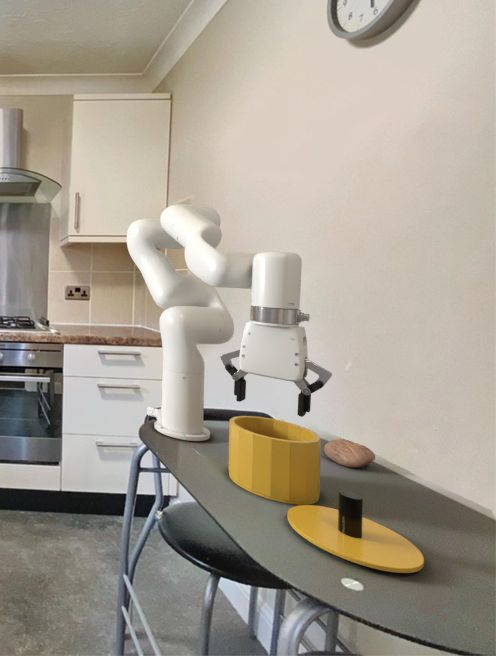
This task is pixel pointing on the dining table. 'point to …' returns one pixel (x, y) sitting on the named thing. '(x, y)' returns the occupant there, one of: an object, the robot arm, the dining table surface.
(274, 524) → the dining table surface
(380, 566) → the lid
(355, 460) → the bread roll
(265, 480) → the tin
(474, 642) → the dining table surface
